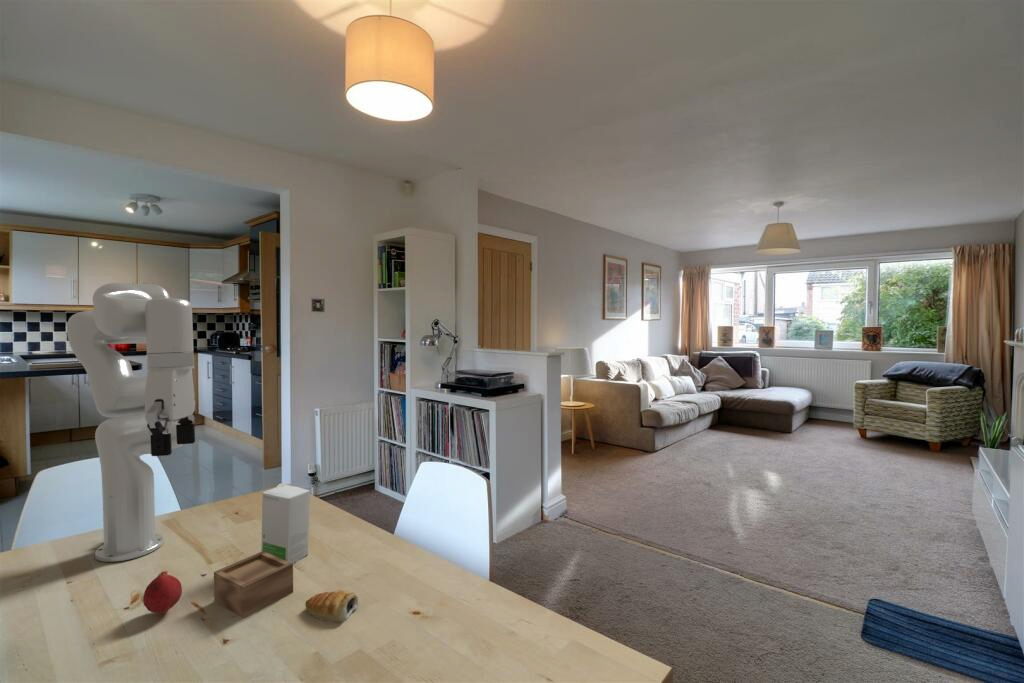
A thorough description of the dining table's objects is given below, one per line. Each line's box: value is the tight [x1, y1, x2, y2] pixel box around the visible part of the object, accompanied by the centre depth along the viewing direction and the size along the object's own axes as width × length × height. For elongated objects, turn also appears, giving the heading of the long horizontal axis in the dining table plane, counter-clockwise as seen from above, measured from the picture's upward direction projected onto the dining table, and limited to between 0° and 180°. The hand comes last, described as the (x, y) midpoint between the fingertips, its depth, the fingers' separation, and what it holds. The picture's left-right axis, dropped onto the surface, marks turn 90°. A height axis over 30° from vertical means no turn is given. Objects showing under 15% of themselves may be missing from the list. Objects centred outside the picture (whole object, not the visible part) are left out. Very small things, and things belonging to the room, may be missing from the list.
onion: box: [142, 569, 183, 615], centre depth 90 cm, size 6×6×8 cm
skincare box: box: [260, 484, 311, 565], centre depth 111 cm, size 8×7×16 cm
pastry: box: [305, 589, 360, 624], centre depth 92 cm, size 9×7×4 cm
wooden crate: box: [213, 551, 294, 619], centre depth 96 cm, size 10×10×6 cm
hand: (174, 449), depth 95 cm, fingers open, 9 cm apart
